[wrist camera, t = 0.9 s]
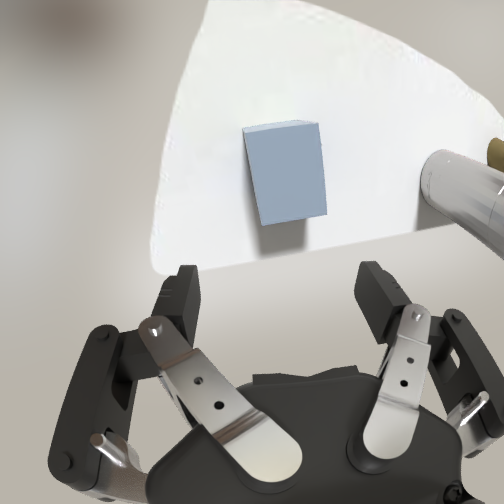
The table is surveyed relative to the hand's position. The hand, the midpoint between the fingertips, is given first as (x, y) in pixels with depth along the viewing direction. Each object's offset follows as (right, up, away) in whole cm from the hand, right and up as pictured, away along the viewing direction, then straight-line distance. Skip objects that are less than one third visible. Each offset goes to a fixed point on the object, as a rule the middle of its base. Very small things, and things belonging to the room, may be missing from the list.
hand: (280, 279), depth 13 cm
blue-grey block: (+1, +12, +17) cm, 21 cm away
